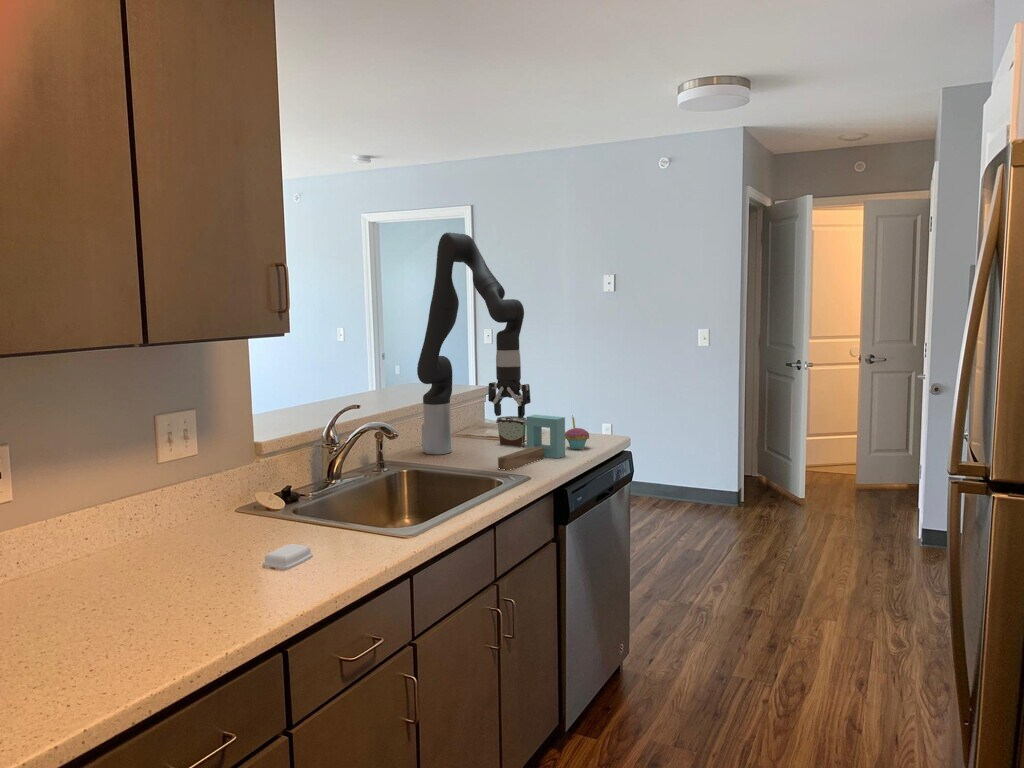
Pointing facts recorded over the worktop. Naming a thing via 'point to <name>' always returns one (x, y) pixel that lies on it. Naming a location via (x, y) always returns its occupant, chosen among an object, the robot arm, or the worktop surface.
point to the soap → (287, 557)
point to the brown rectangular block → (520, 458)
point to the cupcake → (576, 437)
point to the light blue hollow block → (556, 434)
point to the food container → (512, 430)
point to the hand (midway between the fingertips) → (509, 416)
